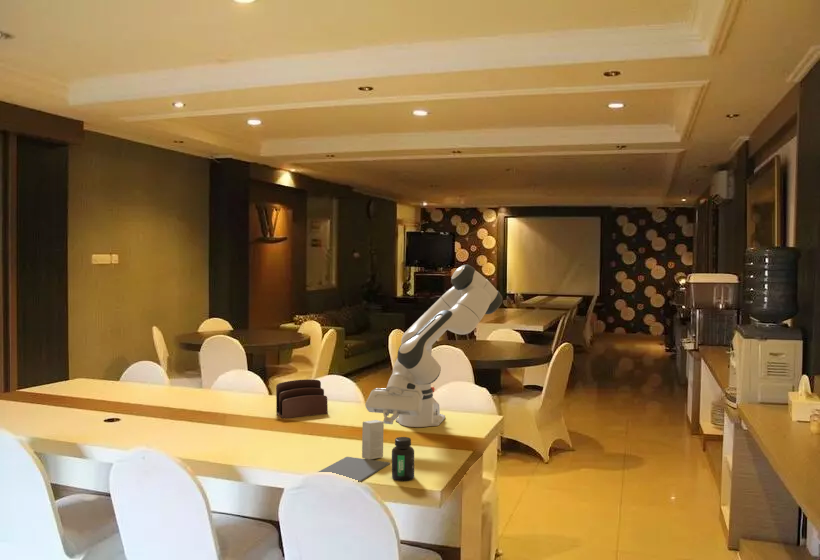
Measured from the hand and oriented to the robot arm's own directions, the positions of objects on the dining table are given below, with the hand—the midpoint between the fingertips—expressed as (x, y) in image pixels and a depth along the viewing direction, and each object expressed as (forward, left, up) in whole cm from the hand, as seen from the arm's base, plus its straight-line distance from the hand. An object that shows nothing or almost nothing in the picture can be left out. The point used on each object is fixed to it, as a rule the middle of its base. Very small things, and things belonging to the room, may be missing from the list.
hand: (387, 423), depth 239 cm
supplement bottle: (+22, +16, -10) cm, 30 cm away
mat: (+21, -2, -10) cm, 24 cm away
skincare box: (+9, -2, -10) cm, 13 cm away
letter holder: (-37, -59, -10) cm, 71 cm away
